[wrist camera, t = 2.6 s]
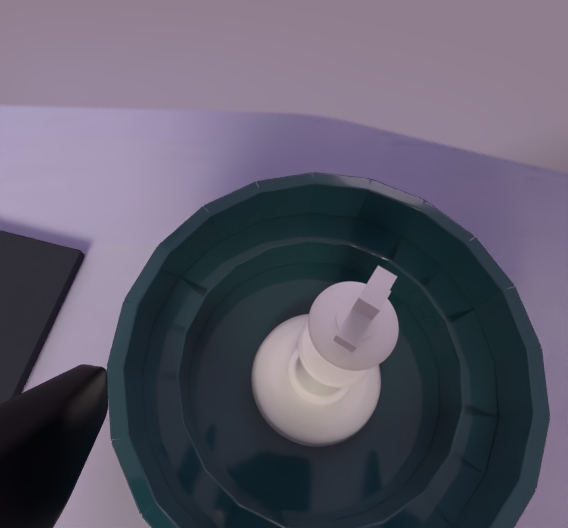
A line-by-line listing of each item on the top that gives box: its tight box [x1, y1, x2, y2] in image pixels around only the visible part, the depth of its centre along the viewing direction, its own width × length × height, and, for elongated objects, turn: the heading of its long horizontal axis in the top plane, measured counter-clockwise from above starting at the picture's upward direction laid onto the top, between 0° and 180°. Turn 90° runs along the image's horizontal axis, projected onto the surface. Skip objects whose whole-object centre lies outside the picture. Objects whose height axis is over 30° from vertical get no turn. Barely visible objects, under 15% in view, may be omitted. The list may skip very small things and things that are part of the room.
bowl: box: [107, 172, 550, 528], centre depth 15 cm, size 13×13×4 cm
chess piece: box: [251, 266, 399, 447], centre depth 13 cm, size 5×5×10 cm
